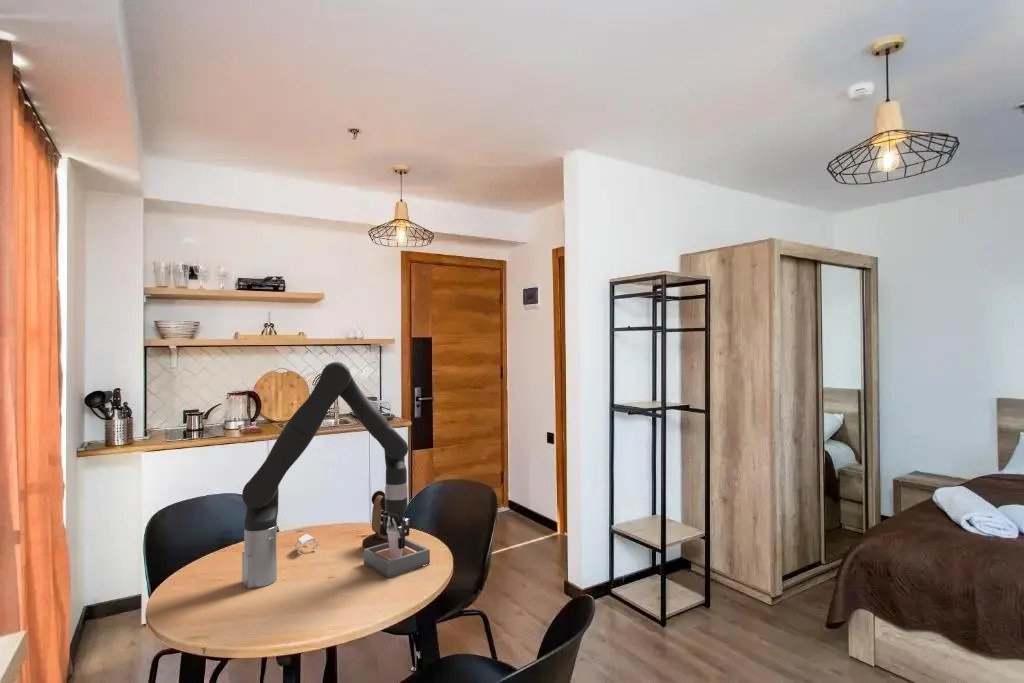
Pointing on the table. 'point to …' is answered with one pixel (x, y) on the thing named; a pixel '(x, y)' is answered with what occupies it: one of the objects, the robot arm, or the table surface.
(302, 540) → the origami figure
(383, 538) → the scroll
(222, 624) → the table surface
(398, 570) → the socket box
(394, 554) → the smoothie
